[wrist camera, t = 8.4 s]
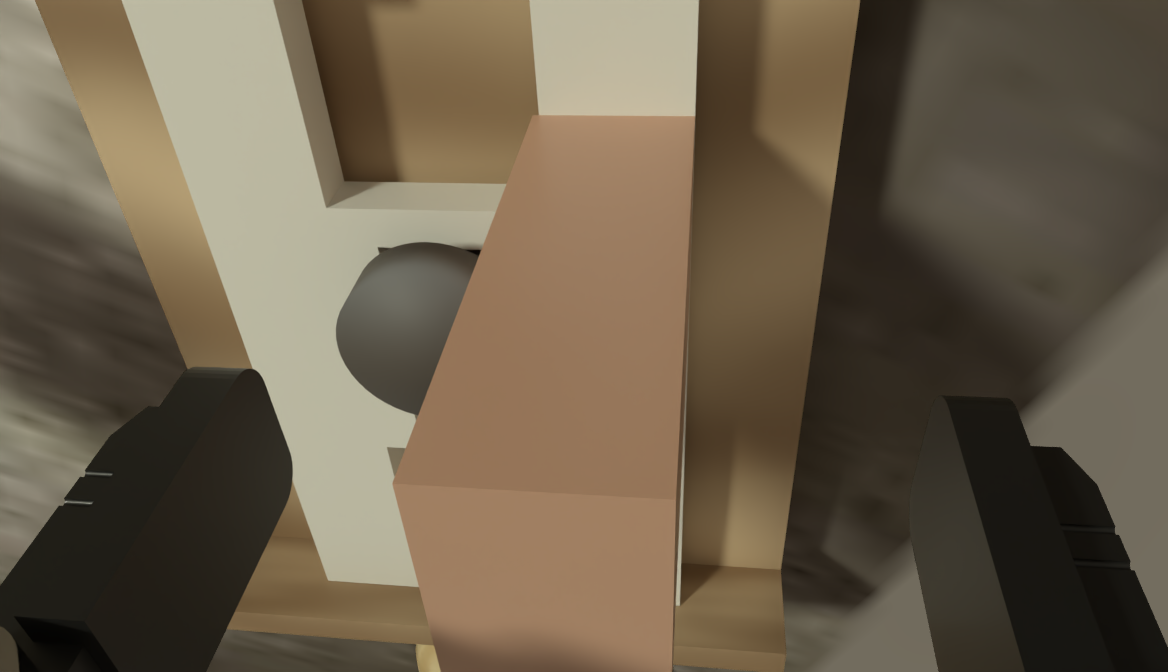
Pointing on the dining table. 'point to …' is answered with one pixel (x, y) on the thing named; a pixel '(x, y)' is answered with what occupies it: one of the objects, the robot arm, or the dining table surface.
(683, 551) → the boss board
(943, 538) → the robot arm
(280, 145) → the panel
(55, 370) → the dining table surface
